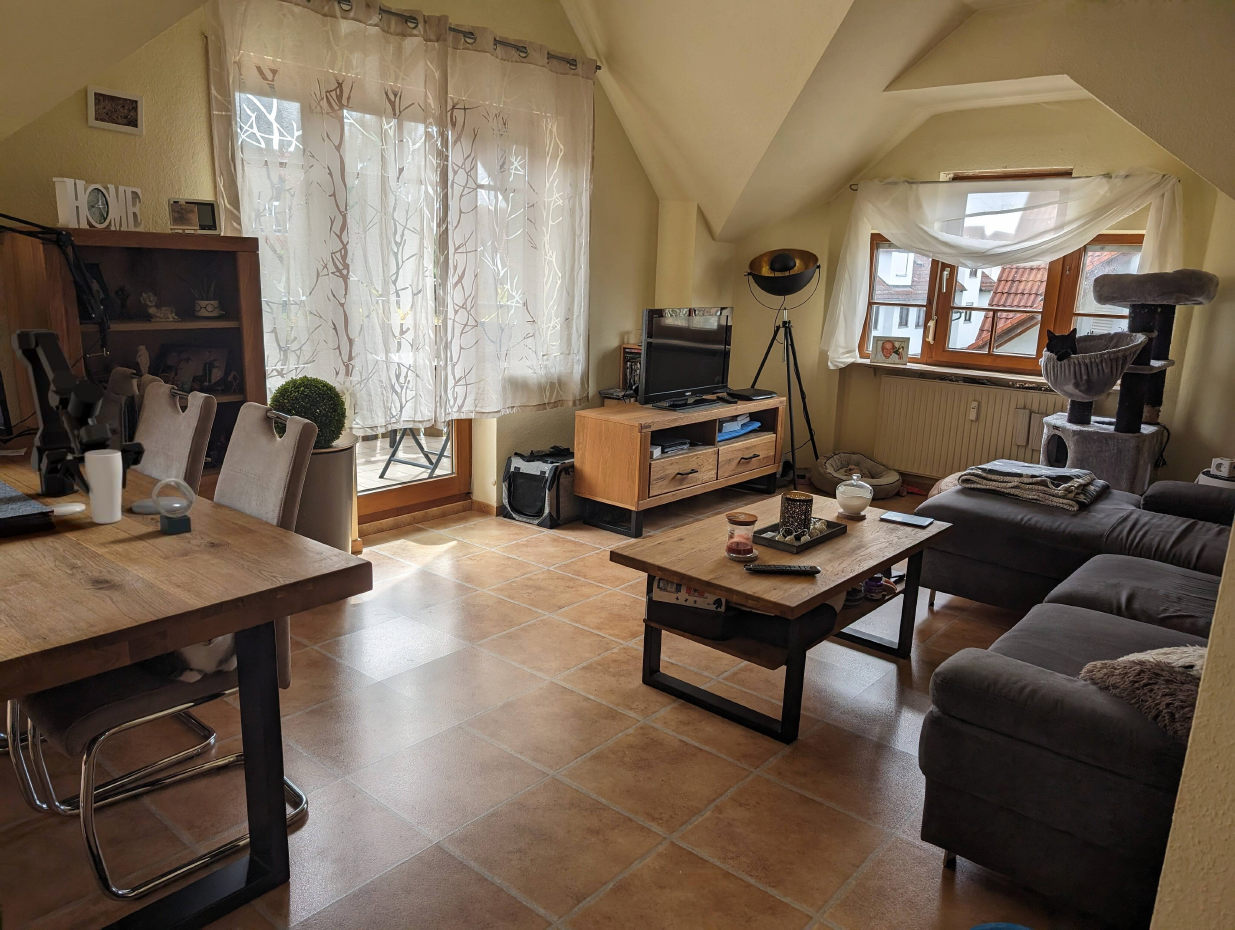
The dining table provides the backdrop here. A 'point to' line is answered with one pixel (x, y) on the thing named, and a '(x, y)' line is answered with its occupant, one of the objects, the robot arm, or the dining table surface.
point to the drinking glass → (104, 484)
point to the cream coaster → (67, 508)
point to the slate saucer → (166, 502)
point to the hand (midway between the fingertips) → (106, 490)
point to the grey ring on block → (179, 520)
